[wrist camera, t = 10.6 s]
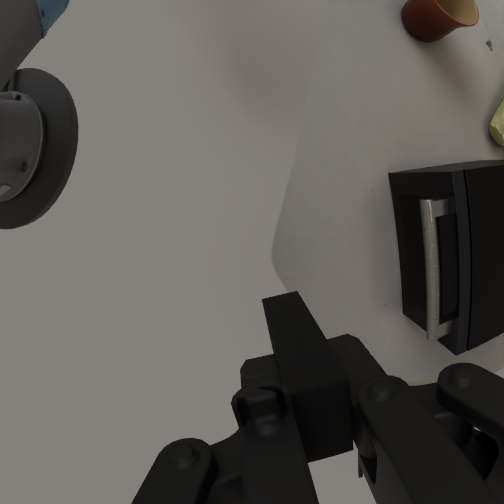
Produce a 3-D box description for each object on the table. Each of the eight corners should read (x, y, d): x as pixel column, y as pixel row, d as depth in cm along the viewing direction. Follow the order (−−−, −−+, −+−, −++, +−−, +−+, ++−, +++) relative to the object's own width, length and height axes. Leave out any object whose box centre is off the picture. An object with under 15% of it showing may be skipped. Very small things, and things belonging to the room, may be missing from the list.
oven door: (385, 319, 43) (435, 365, 29) (368, 176, 38) (428, 175, 25) (411, 310, 43) (466, 351, 29) (398, 171, 39) (463, 169, 25)
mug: (444, 55, 35) (484, 35, 25) (397, 39, 35) (433, 12, 25) (432, -4, 33) (465, -29, 23) (387, -19, 32) (415, -51, 22)
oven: (412, 309, 43) (467, 351, 29) (399, 171, 39) (465, 169, 25) (486, 281, 43) (543, 308, 29) (479, 160, 39) (544, 159, 25)
